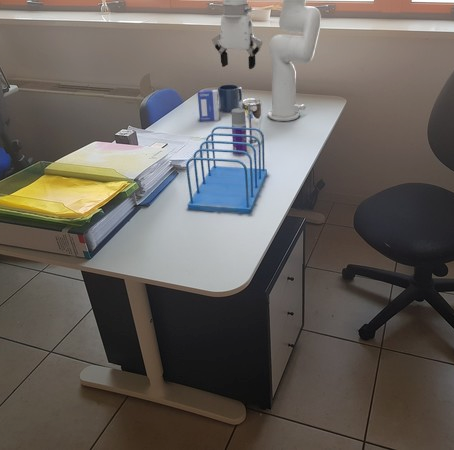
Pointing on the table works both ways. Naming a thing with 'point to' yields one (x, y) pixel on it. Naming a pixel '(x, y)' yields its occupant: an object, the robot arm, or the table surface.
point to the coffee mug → (229, 97)
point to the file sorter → (227, 179)
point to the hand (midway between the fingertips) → (238, 66)
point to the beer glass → (252, 118)
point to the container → (239, 130)
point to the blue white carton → (208, 105)
